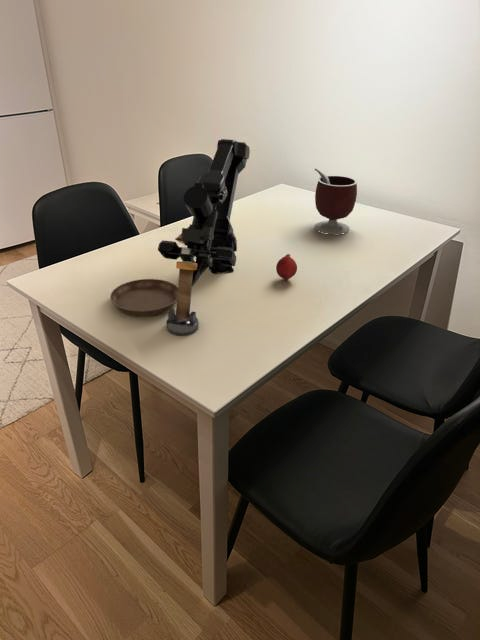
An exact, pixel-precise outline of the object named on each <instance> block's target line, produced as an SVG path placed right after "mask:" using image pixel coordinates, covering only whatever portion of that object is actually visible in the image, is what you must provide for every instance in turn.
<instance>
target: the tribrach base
mask: <svg viewBox="0 0 480 640" xmlns="http://www.w3.org/2000/svg"><path fill="white" fill-rule="evenodd" d="M167 316H168V317H167V320H166V324H165V325H166V330H167V332H168V333H169V334H170V335H174V336H179V337H183V336H190V335H192V334H195V333H196V332H197V331H198V330H199V319H198V318H197V312H196V311H190V314H189V318H187V319H183V318H177V317H176V309H175V308H170V309H169V310H168V312H167Z"/></svg>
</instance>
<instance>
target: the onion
mask: <svg viewBox="0 0 480 640" xmlns="http://www.w3.org/2000/svg"><path fill="white" fill-rule="evenodd" d="M275 269H276V274H277V275H278V276H279V278H282V279H283V280H285V281H288V280H290V279H291V278H292V277H294V276H295V275H296V273H297V270H298V265H297V262H296V261H295V259H293V258H292V257H291V254H290V253H286V254H285V256H283V257H281V258H280V259H278V261H277V263H276V266H275Z"/></svg>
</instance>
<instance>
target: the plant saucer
mask: <svg viewBox="0 0 480 640" xmlns="http://www.w3.org/2000/svg"><path fill="white" fill-rule="evenodd" d="M177 294H178V285H176V284H174V283H172V282H170V281H167V280H163V279H156V278H144V279H135V280H131V281H128V282H125V283H122V284H120V285H119V286H117V287H115V288H114V289H113V290H112V292H111V293H110V301H111V303H112V304H113V306H115V307H116V309H118V310H119V311H121V312H122V313H124V314H126V315H129V316H134V317H153V316H156V315H157V316H158V315H161V314H163V313H166V312H167V311H170V309H172V307H174V305H175V304H177Z"/></svg>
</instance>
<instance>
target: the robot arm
mask: <svg viewBox="0 0 480 640" xmlns="http://www.w3.org/2000/svg"><path fill="white" fill-rule="evenodd" d="M250 153H251V151H250V146H248V145H247V143H246V142H242V141H237V140H235V139H227V138H221V139H218V140H217V144H216V151H215V154H214V157H213V159H212V161H211V164H210V166H209V169H208V171H206V173H203V174H202V175H201V176H200V177H199V179H198V181H197V182H194V186H191V187H190V188H188V189H187V190H186V191H185V192H184V194H183V202H184V204H185V206H186V208H187V210H188V212H189V213H190V215H191V216H192V217H193V219H192V222H191V225H190V224H189V226H190V227H189V226H188V227H189V229H188V227H182V228H181V233H182V236H181V241H180V242H183V245H184V247H183V246H179V245H178V243H177V242H176V241H172V240H161V241H160V242H159V243H158V247H157V251H158V252H159V253H160V255H161V256H162V258H164V259H168V260H178V259H179V258H180V259H181V261H189V262H192V263H197V270H193V279H192V288H193V287H194V286H195V284H196V283H197V281H198V280H199V279H200V277H201V276H202V275H203V273H205V271H206V270H207V269H209V270H210V272H211V273H212V274H213V275H214V274H222V273H230V272H231V273H232V272H234V271H235V270H234V268H233V267H235V266H236V262H237V256H236V253H235V252H237V251H238V244H237V241H238V240H237V237H236V235H235V233H234V228H233V225H232V223H231V215H232V209H233V204H234V200H235V193H236V190H237V183H238V177H239V174H240V173H242V171H243V170H244V169H245V168H246V166H247V165H246V164H247V161H248V160H249V159H250ZM214 205H215V206H214ZM185 246H186V247H185Z"/></svg>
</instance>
